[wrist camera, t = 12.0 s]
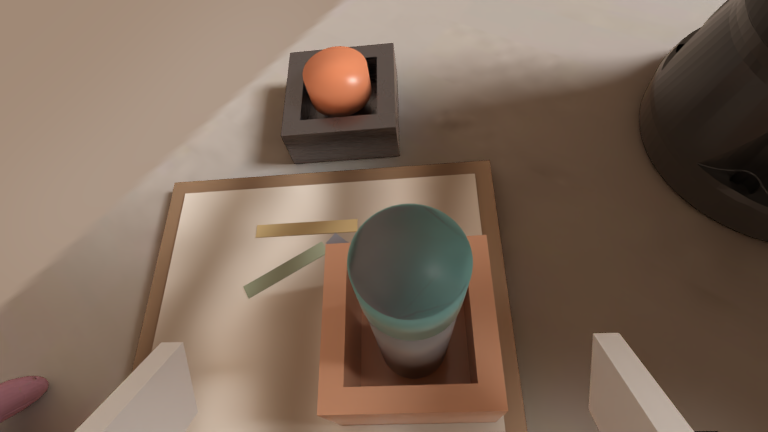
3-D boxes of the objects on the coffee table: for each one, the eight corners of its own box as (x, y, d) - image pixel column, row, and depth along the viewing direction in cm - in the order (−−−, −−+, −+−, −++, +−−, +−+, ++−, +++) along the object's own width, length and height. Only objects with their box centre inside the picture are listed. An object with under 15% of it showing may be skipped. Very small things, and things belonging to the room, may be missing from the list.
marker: (445, 310, 24) (466, 200, 13) (449, 379, 23) (479, 320, 12) (379, 312, 24) (347, 205, 13) (380, 381, 23) (345, 324, 12)
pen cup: (479, 275, 25) (486, 234, 21) (495, 422, 22) (508, 411, 18) (345, 281, 26) (325, 243, 22) (341, 425, 23) (316, 415, 18)
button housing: (397, 75, 34) (393, 43, 32) (399, 155, 31) (395, 126, 28) (301, 84, 35) (290, 53, 32) (294, 163, 32) (280, 136, 29)
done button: (371, 67, 31) (367, 43, 30) (371, 114, 30) (367, 92, 28) (312, 72, 32) (304, 49, 30) (308, 119, 30) (300, 98, 28)
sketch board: (488, 169, 30) (489, 157, 29) (527, 456, 22) (531, 455, 21) (182, 190, 32) (172, 180, 30) (123, 462, 24) (107, 462, 23)
